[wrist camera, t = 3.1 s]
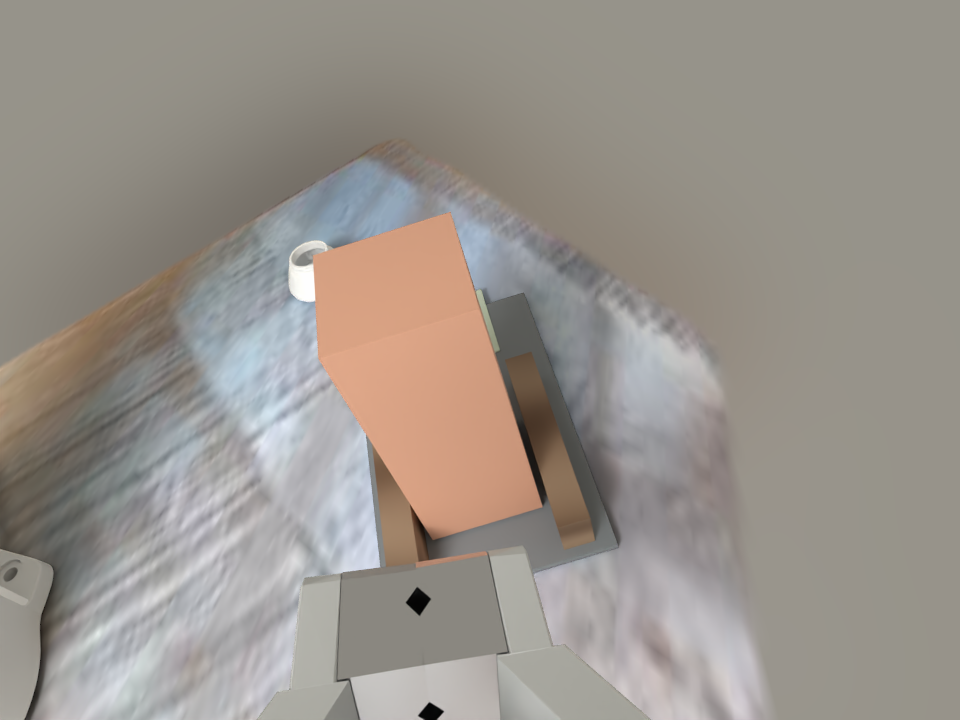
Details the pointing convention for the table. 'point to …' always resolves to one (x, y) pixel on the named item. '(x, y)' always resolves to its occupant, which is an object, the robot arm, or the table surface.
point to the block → (423, 374)
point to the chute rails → (552, 459)
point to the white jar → (304, 269)
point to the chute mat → (537, 527)
